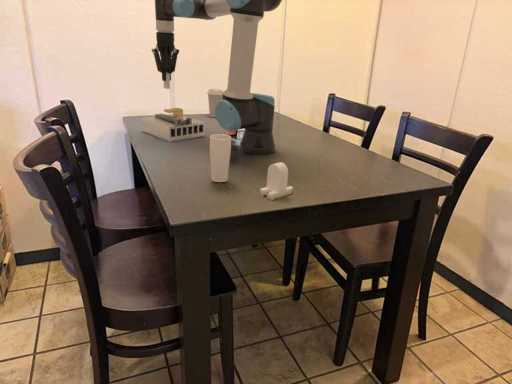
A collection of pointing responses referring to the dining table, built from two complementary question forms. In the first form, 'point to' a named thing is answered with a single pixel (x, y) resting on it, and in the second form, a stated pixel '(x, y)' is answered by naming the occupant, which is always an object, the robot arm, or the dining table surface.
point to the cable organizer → (277, 180)
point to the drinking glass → (220, 156)
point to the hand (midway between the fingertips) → (166, 88)
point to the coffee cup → (214, 99)
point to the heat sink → (173, 128)
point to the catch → (175, 111)
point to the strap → (171, 118)
